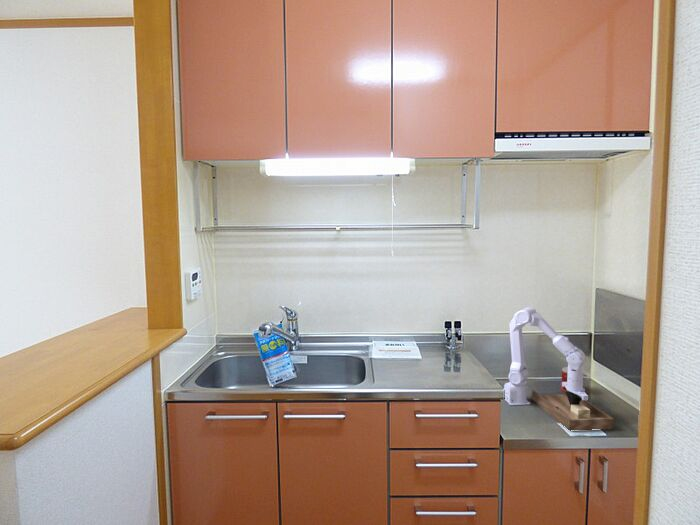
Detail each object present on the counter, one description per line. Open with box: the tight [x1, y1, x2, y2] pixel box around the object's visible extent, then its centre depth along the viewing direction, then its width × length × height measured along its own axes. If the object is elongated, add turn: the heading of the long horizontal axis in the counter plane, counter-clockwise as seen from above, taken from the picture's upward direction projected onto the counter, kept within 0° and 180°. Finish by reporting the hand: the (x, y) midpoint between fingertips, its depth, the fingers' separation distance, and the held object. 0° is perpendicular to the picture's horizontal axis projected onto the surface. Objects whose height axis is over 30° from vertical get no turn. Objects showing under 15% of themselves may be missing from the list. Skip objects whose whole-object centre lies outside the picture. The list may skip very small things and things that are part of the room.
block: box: [570, 404, 590, 419], centre depth 165 cm, size 5×5×4 cm
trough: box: [531, 390, 615, 431], centre depth 172 cm, size 18×29×4 cm, turn 4°
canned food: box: [560, 366, 568, 394], centre depth 194 cm, size 8×8×11 cm
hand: (573, 409), depth 169 cm, fingers closed
